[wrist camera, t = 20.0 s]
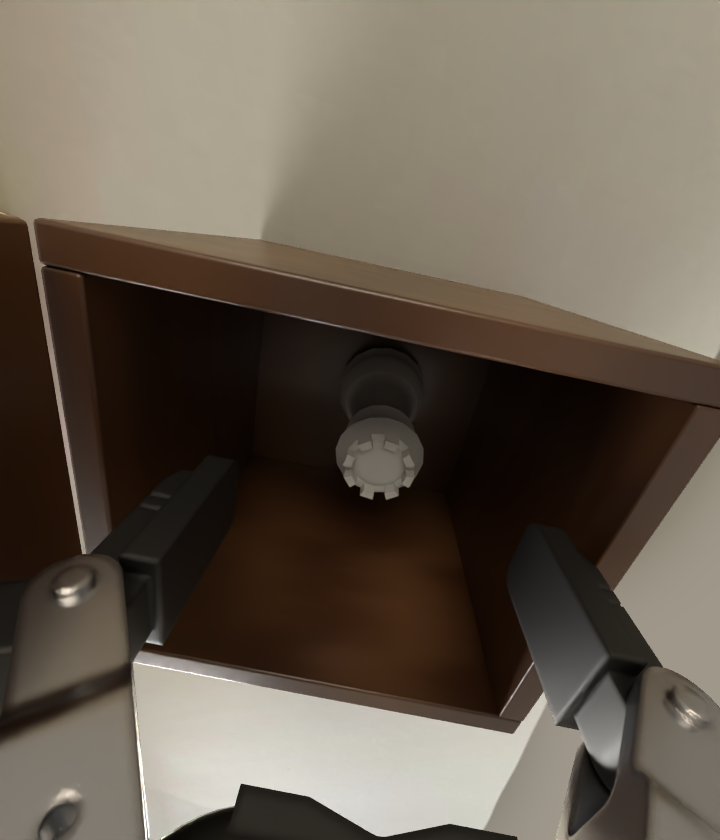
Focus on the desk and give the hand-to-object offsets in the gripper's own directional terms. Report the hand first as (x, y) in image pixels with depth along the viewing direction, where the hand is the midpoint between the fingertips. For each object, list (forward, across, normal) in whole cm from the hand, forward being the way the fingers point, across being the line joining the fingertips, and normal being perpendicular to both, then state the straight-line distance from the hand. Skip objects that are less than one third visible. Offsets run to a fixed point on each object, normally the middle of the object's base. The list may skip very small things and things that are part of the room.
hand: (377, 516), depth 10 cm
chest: (+12, +1, 0) cm, 12 cm away
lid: (-9, +7, 0) cm, 11 cm away
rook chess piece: (+11, 0, 0) cm, 11 cm away
